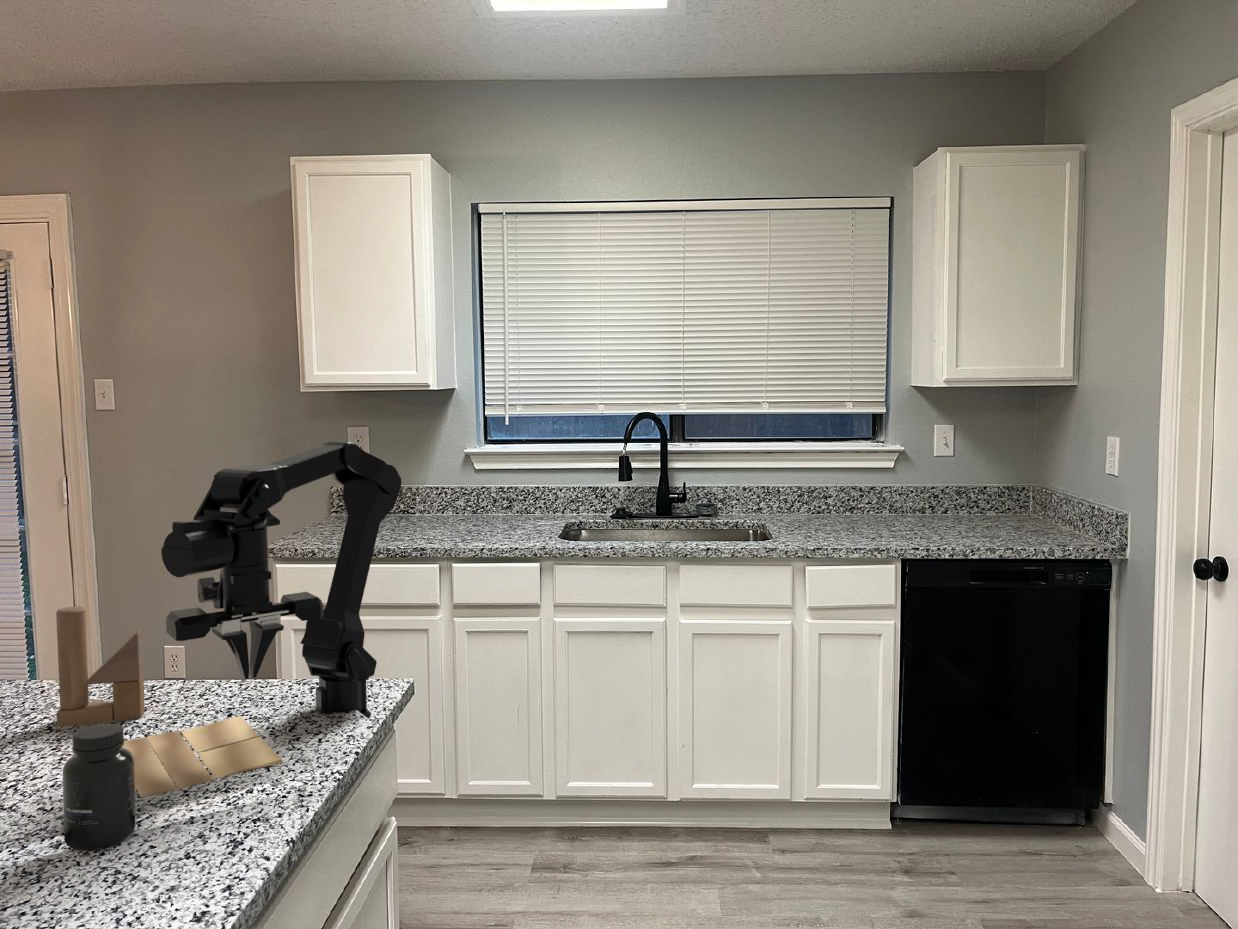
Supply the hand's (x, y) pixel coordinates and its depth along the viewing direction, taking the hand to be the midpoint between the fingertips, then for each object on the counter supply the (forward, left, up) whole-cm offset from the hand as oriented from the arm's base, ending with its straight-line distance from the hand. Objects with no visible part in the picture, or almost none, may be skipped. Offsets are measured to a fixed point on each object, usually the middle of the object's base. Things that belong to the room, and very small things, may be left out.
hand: (249, 678), depth 119 cm
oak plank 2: (+2, +3, -11) cm, 11 cm away
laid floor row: (+11, -2, -11) cm, 15 cm away
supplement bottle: (+19, +13, -11) cm, 26 cm away
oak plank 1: (+2, -7, -11) cm, 13 cm away
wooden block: (+14, -24, -11) cm, 30 cm away
